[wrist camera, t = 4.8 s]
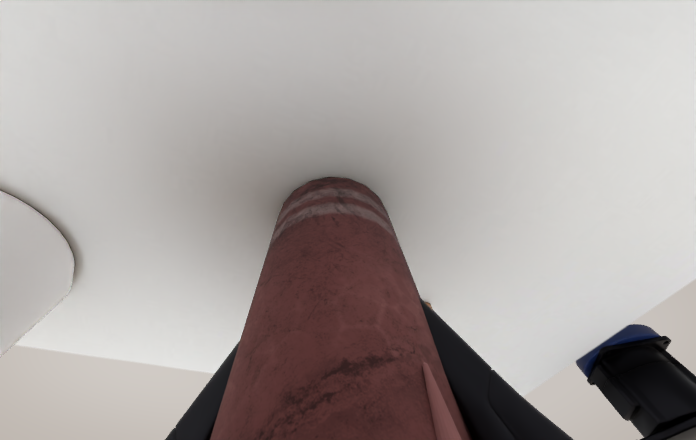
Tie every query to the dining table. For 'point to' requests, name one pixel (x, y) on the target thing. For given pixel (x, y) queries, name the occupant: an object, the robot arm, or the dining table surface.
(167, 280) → the dining table surface
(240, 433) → the can
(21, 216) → the alcohol
